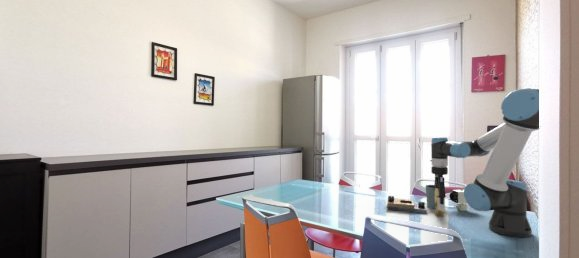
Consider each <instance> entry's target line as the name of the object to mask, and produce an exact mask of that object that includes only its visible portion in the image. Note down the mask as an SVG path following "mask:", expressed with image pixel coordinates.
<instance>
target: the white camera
mask: <svg viewBox="0 0 579 258" xmlns="http://www.w3.org/2000/svg"><path fill="white" fill-rule="evenodd" d="M449 199H450V201H452V202H454V203H456V205H455V207H456V210H458V211H460V212H467V211H468V203H467V202H466V199H465V197H464V188H460V189H452V190H451V192H449Z"/></svg>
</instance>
